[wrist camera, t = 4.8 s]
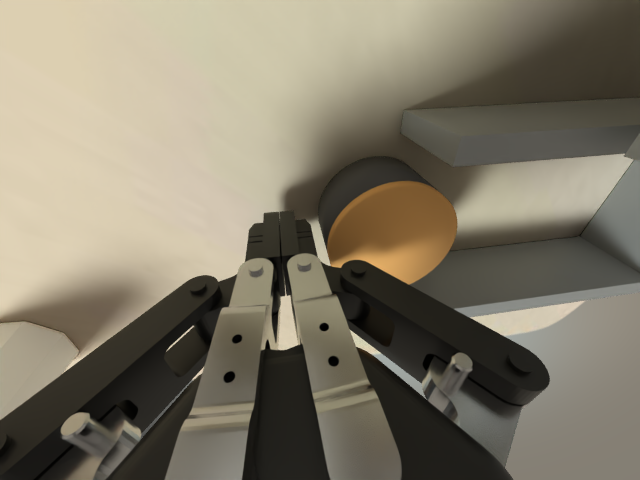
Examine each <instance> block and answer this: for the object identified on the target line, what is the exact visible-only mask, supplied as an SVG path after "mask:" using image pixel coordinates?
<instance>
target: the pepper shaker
mask: <svg viewBox="0 0 640 480" xmlns="http://www.w3.org/2000/svg"><path fill="white" fill-rule="evenodd" d="M78 353H79V350H78V349H77V347H76V346H75V345H74V344H73V343H72V342H71V341H70V339H69V338H68V337H67V336H66V335H65V334H64V333H63V332H59V331H56V330H53V329H49V328H46V327H43V326H40V325H36V324H33V323H30V322H26V321H21V322H8V323H0V420H1V419H2V418H4V417H5V416H6V415H8V414H9V413H10V412H12V411H13V410H14V409H16V408H17V407H19V406H20V405H21V404H23V403H24V402H25V401H27V400H28V399H29V398H31V397H32V396H33V395H35V394H36V393H37V392H39V391H40V390H41V389H43V388H44V387H45V386H47V385H48V384H50V383H51V382H52V381H54V380H55V379H56V378H58V377H59V376H60V375H62V373H63V372H64V371H65V370H66V368H67V367H68V366H69V364H70V363H71V362H72V361H73V359H74V358H75V357H76V356H77V354H78Z"/></svg>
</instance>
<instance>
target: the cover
mask: <svg viewBox="0 0 640 480" xmlns="http://www.w3.org/2000/svg"><path fill="white" fill-rule="evenodd" d="M624 156H625V157H628V158H631V159H635V160H638V161H640V133H639V135H638V136H637V138H636V139H635V141H634V142H633V143H632V145H631V146H630V148H629V149H628V151H627V152H626V154H625V155H624Z"/></svg>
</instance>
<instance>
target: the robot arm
mask: <svg viewBox="0 0 640 480" xmlns="http://www.w3.org/2000/svg"><path fill="white" fill-rule="evenodd" d="M284 278H285V281H284ZM285 286H286V294H287V296H288V295H291V304H292V312H293V318H294V323H295V329H296V335H297V341H298V345H297V346H295V347H292V348H290V349H287V350H278V342H279V325H280V304H281V301H280V296H285ZM192 326H194V327H193V328H192V329H191V330H190V331H189V332H188V333H187V334H186V335H184V336H183V337H182V338H181V339H180V340H179V341H178V342H177V343H176V344H175V345H173V346H172V347H171V348H170V349H169V350H168V351H167V349H168V348H169V347H170V346H171V345H172V344H173V343H174V342H175V341H176V340H177V339H178V338H179V337H181V336H182V335H183V334H184V333H185V332H186V331H187V330H188V329H189V328H191V327H192ZM350 330H351V331H353V332H354V333H355V334H357V335H358V336H359V337H361V338H362V339H363V340H365V341H366V342H367V343H369V344H370V345H371V346H373V347H374V348H375V349H377V350H378V351H379V352H381V353H382V354H383V355H385V356H386V357H387V358H389V359H390V360H391V361H393V362H394V363H395V364H397V365H398V366H399V367H401V368H402V369H403V370H404V371H406V372H407V373H409V374H410V375H411V376H412V377H414V378H415V379H416V380H418V381H419V382H420V383H422V389H423V393H424V395H425V397H426V399H427V400H426V399H425V398H424V397H423V396H422V395H420V394H419V393H418V392H417V391H416V390H414V389H413V388H412V387H410V385H408V384H407V383H406V382H405V381H403V380H402V379H401V378H400V377H399V376H397V375H396V374H395V373H394V372H392V371H391V370H390V369H389V368H388V367H386V366H385V365H384V364H383V363H382V362H380V361H379V360H378V359H377V358H375V357H374V356H373V355H371V354H370V353H368V352H367V351H365V350H362V349H360V348H358V347H356V346H355V343H354V340H353V337H352V335H351V332H350ZM166 351H167V352H166ZM203 367H204V369H203V373H202V374H201V375H199V376H198V377H197V378H196V379H195V380H194V381H192V382H191V383H190V384H189V386H188V387H187V388H186V389H185V390H184V391H183V392H182V394H180V396H179V397H178V398H177V399H176V400H175V402H174V403H173V404H172V405H171V406H170V407H169V408H168V409H167V410H166V412H165V413H164V414H163V415H162V416H161V417H160V418H159V419H158V421H157V422H156V423H155V424H154V425H153V426H152V427H151V429H150V430H149V431H148V432H147V433H146V434H145V435H144V436H143V438H142V439H141V433H142V432H143V431H144V430H145V429H146V428H147V427H148V426H149V425H150V424H151V423H152V422H153V421H154V419H155V418H156V417H157V416H158V415H159V414H160V413H161V412H162V411H163V410H164V409H165V407H166V406H168V404H169V403H170V402H171V401H172V400H173V399H174V398H175V397H176V396H177V395H178V394H179V393H180V391H182V389H183V388H184V387H185V386H186V385H187V384H188V383H189V382H190V381H191V380H192V379H193V378H194V377H195V376H196V375H197V373H198V372H199V371H200V370H201V369H202V368H203ZM549 381H550V378H549V374H548V371H547V369H546V367H545V365H544V364H543V363H542V361H541V360H540V359H539V358H538V357H537V356H536V355H534V354H533V353H532V352H531V351H529V350H528V349H526V348H524V347H522V346H521V345H519V344H517V343H515V342H513V341H511V340H510V339H508V338H506V337H504V336H502V335H500V334H499V333H497V332H495V331H493V330H491V329H489V328H488V327H486V326H484V325H482V324H480V323H478V322H476V321H475V320H473V319H471V318H469V317H467V316H465V315H464V314H462V313H460V312H458V311H456V310H454V309H453V308H451V307H449V306H447V305H445V304H443V303H442V302H440V301H438V300H436V299H434V298H432V297H431V296H429V295H427V294H425V293H423V292H421V291H420V290H418V289H416V288H414V287H412V286H410V285H408V284H407V283H405V282H403V281H401V280H399V279H397V278H396V277H394V276H392V275H390V274H388V273H386V272H385V271H383V270H381V269H379V268H377V267H375V266H374V265H372V264H370V263H368V262H366V261H363V260H350V261H348V262H346V263H344V264H343V265H342V267H341V268H339V267H332V266H328V265H326V264H324V263H322V262H321V261H320V259H319V258H318V256H317V252H316V248H315V243H314V239H313V234H312V230H311V225H310V224H309V223H308V222H307V221H306V220H305V219H302V220H295V216H294V211H282V212H280V219H279V212H270V213H264V221H263V223H256V224H254V225H253V226H252V227H251V228H250V230H249V236H248V244H247V251H246V259H245V263H243V264H242V265H241V266H240V268H239V270H238V274H236V275H235V276H233V277H231V278H228V279H225V280H223V281H220V282H218V281H217V279H216V278H214V277H212V276H208V275H203V276H198V277H195V278H192V279H190V280H188V281H187V282H186V283H184V284H183V285H182V286H180V287H179V288H177V289H176V290H175V291H173V292H172V293H171V294H169V295H168V296H167V297H165V298H164V299H163V300H161V301H160V302H159V303H157V304H156V305H155V306H153V307H152V308H151V309H149V310H148V311H146V312H145V313H144V314H142V315H141V316H140V317H138V318H137V319H136V320H134V321H133V322H132V323H130V324H129V325H128V326H126V327H125V328H124V329H122V330H121V331H120V332H118V333H117V334H116V335H114V336H113V337H111V338H110V339H109V340H107V341H106V342H105V343H103V344H102V345H101V346H99V347H98V348H97V349H95V350H94V351H93V352H91V353H90V354H89V355H87V356H86V357H85V358H83V359H82V360H80V361H79V362H78V363H76V364H75V365H74V366H72V367H71V368H70V369H68V370H67V371H66V372H64V373H63V374H62V375H60V376H59V377H58V378H56V379H55V380H54V381H52V382H51V383H50V384H48V385H47V386H45V387H44V388H43V389H41V390H40V391H39V392H37V393H36V394H35V395H33V396H32V397H31V398H29V399H28V400H27V401H25V402H24V403H23V404H21V405H20V406H19V407H17V408H16V409H14V410H13V411H12V412H10V413H9V414H8V415H6V416H5V417H4V418H2V419H1V420H0V480H513V478H512V477H511V476H510V474H509V473H508V472H507V470H506V469H505V466H506V462H507V458H508V455H509V451H510V448H511V444H512V441H513V437H514V434H515V430H516V427H517V423H518V419H519V416H520V412H521V410H522V409H523V408H524V407H525V406H526V405H528V404H529V403H530V402H531V401H532V400H533V399H534V398H535V397H536V396H538V395H539V394H540V393H541V392H542V391H543V390H544V389H545V388H546V387H547V386H548V385H549ZM140 439H141V440H140Z"/></svg>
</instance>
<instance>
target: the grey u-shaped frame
mask: <svg viewBox="0 0 640 480" xmlns="http://www.w3.org/2000/svg"><path fill="white" fill-rule="evenodd" d="M400 133H401V134H402V135H404V136H406V137H407V138H409V139H410V140H412V141H413V142H415V143H416V144H418V145H419V146H421V147H422V148H424V149H426V150H427V151H429V152H430V153H432V154H433V155H435V156H436V157H438V158H439V159H441V160H442V161H444V162H446V163H447V164H449V165H450V166H452V167H461V166H473V165H486V164H499V163H511V162H524V161H536V160H549V159H561V158H574V157H587V156H599V155H612V154H624V153H626V152H627V151H628V149H629V148H630V146H631V145H632V143H633V142H634V141H635V139H636V138H637V136H638V135H639V133H640V97H637V98H619V99H600V100H581V101H562V102H543V103H525V104H506V105H487V106H468V107H449V108H431V109H412V110H404V112H403V118H402V125H401V131H400ZM409 285H410V286H412V287H414V288H416V289H418V290H420V291H421V292H423V293H425V294H427V295H429V296H431V297H432V298H434V299H436V300H438V301H440V302H442V303H443V304H445V305H447V306H449V307H451V308H453V309H454V310H456V311H458V312H460V313H462V314H464V315H465V316H467V317H475V316H482V315H489V314H496V313H503V312H509V311H516V310H523V309H530V308H537V307H544V306H550V305H557V304H564V303H571V302H578V301H584V300H591V299H598V298H605V297H611V296H618V295H625V294H632V293H639V292H640V161H638V160H634V161H633V163H632V164H631V165H630V167H629V168H628V170H627V171H626V172H625V174H624V175H623V177H622V178H621V179H620V181H619V182H618V184H617V185H616V186H615V188H614V189H613V191H612V192H611V193H610V195H609V196H608V198H607V199H606V200H605V202H604V203H603V204H602V206H601V207H600V209H599V210H598V211H597V213H596V214H595V216H594V217H593V218H592V220H591V221H590V223H589V224H588V225H587V227H586V228H585V230H584V231H583V232H582V234H581V235H580V236H579V237H570V238H562V239H553V240H544V241H536V242H527V243H519V244H510V245H502V246H493V247H484V248H476V249H467V250H459V251H450V252H448V253H447V255H446V256H445V258H444V259H443V260H442V261H441V262H440V263H439V265H437V266H436V267H435V268H434V269H433V270H432V271H431V272H429V273H428V274H427V275H425V276H424V277H422V278H421V279H419V280H417V281H415V282H414V283H411V284H409Z"/></svg>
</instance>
